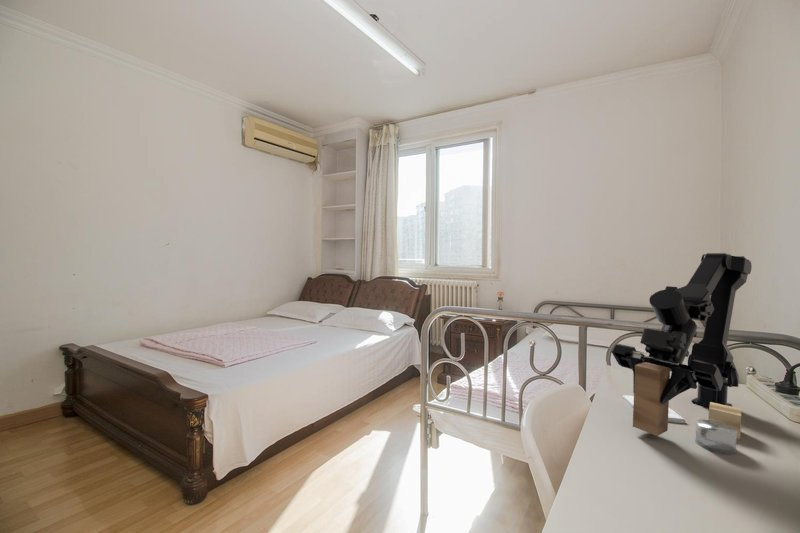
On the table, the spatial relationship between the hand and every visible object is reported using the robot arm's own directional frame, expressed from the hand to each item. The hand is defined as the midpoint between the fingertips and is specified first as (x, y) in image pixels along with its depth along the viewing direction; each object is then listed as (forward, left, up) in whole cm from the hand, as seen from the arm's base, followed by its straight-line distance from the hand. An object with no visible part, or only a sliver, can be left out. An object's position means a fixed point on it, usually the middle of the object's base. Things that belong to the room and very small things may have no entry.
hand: (647, 398), depth 72 cm
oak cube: (-18, +7, -8) cm, 21 cm away
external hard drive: (-17, -6, -9) cm, 20 cm away
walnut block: (-1, 0, -7) cm, 7 cm away
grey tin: (-8, +9, -8) cm, 14 cm away
